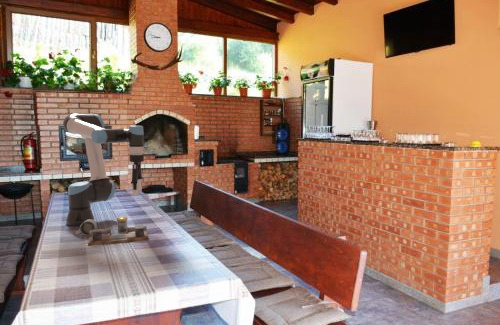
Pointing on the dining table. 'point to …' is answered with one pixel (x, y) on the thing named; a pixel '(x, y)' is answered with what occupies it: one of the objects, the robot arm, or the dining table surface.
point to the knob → (122, 224)
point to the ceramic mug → (87, 227)
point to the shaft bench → (118, 235)
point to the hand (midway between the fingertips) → (137, 193)
